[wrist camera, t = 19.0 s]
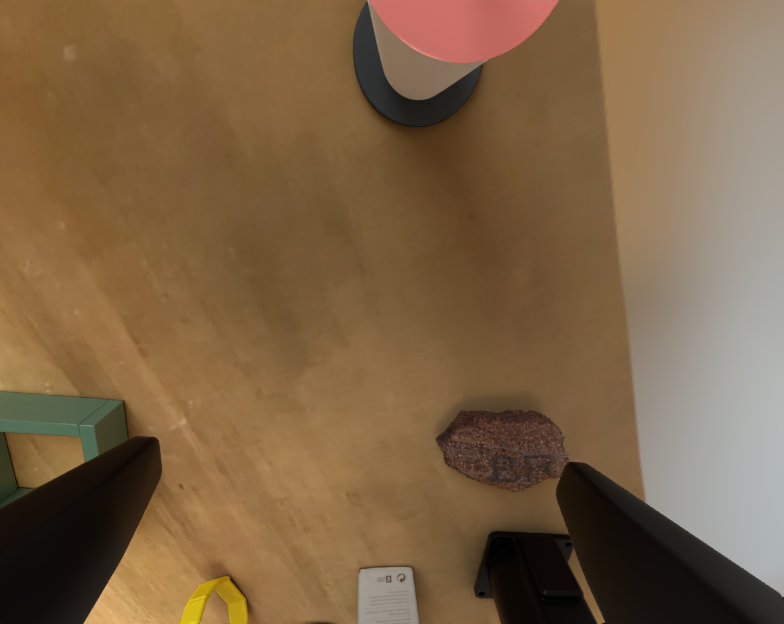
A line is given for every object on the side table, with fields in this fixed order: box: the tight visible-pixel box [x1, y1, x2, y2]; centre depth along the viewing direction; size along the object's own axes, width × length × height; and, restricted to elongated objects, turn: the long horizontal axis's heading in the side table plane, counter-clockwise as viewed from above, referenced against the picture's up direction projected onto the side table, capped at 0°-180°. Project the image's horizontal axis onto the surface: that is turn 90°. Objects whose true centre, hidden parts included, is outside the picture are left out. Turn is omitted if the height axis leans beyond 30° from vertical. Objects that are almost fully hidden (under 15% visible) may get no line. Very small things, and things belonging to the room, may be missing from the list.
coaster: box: [353, 1, 482, 127], centre depth 17 cm, size 6×6×1 cm
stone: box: [436, 410, 570, 492], centre depth 23 cm, size 7×7×3 cm
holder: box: [0, 391, 128, 507], centre depth 22 cm, size 8×8×2 cm
